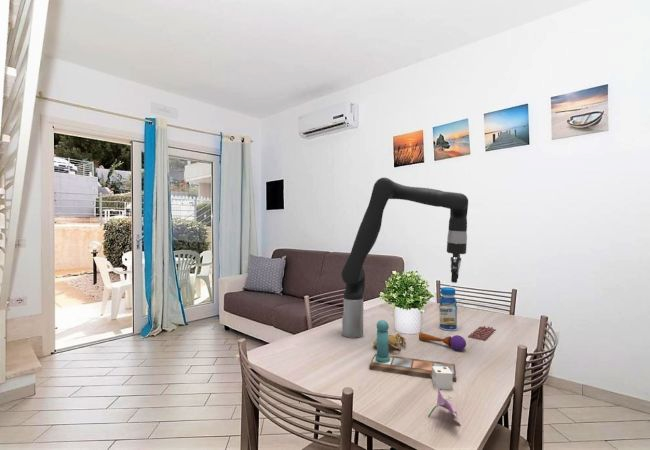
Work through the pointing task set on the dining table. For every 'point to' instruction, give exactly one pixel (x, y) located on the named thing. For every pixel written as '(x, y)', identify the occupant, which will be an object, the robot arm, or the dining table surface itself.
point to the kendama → (446, 340)
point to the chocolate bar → (482, 333)
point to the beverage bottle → (448, 309)
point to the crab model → (394, 341)
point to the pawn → (382, 342)
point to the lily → (444, 402)
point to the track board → (410, 366)
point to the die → (442, 377)
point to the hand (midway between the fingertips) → (454, 280)
